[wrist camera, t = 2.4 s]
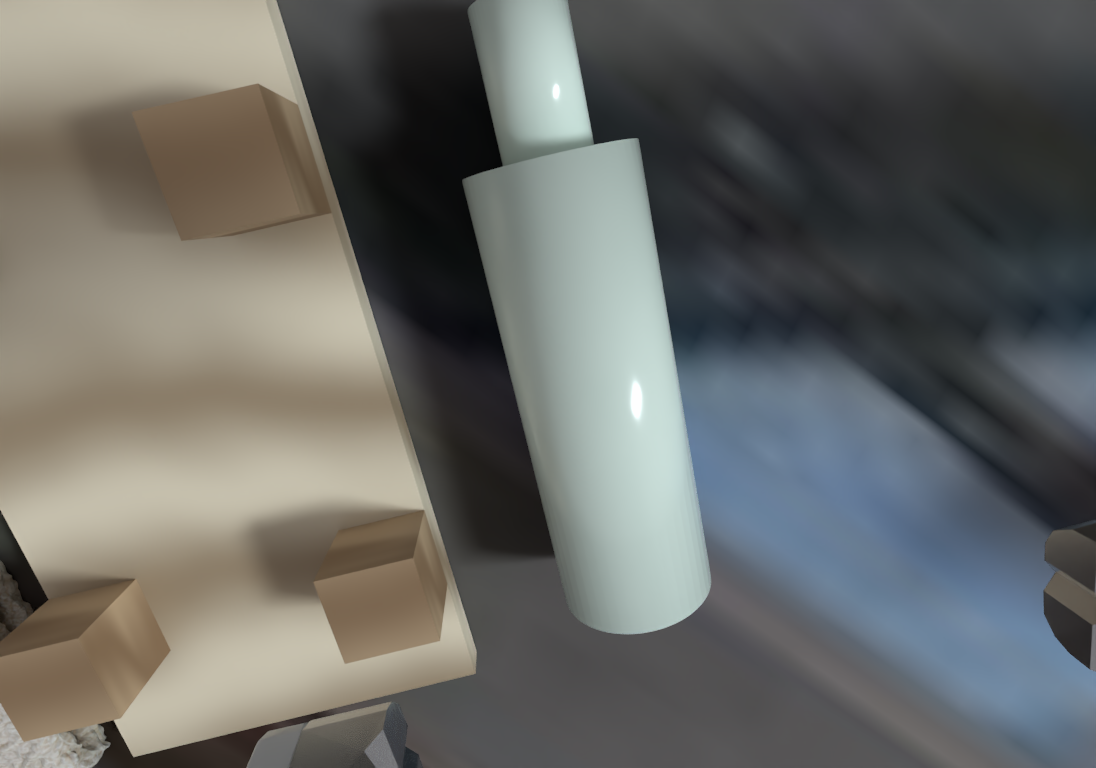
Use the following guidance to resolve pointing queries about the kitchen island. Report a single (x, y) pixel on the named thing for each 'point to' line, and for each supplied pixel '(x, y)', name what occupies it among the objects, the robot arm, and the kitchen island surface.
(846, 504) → the kitchen island surface
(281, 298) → the board
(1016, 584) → the kitchen island surface
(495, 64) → the ceramic bottle
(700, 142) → the kitchen island surface
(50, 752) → the washcloth
